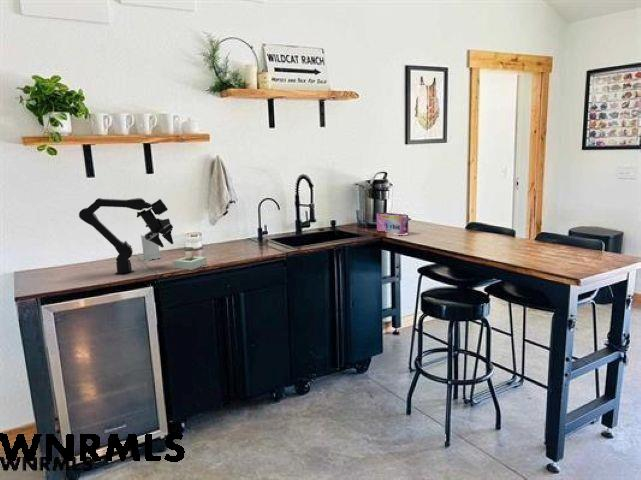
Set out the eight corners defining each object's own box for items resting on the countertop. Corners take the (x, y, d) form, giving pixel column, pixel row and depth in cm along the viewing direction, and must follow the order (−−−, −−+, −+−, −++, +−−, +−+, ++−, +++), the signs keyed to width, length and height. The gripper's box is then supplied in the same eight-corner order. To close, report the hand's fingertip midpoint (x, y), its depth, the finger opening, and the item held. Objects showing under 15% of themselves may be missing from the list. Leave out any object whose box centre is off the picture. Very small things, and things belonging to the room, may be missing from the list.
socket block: (192, 269, 250) (191, 262, 249) (173, 268, 255) (173, 260, 254) (206, 264, 261) (206, 257, 260) (188, 263, 266) (188, 256, 265)
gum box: (410, 235, 324) (410, 214, 322) (402, 236, 320) (402, 216, 317) (384, 231, 343) (384, 212, 340) (376, 233, 338) (376, 213, 336)
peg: (192, 267, 255) (190, 248, 253) (184, 267, 256) (183, 248, 254) (195, 265, 259) (194, 247, 258) (188, 265, 260) (186, 247, 258)
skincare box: (158, 257, 285) (155, 232, 282) (160, 259, 280) (157, 233, 277) (143, 259, 281) (140, 233, 278) (145, 261, 276) (142, 235, 273)
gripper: (171, 208, 249) (188, 234, 254) (152, 216, 261) (168, 240, 266) (155, 219, 241) (173, 245, 246) (137, 227, 253) (154, 251, 258)
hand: (167, 245), depth 254 cm, fingers open, 9 cm apart
